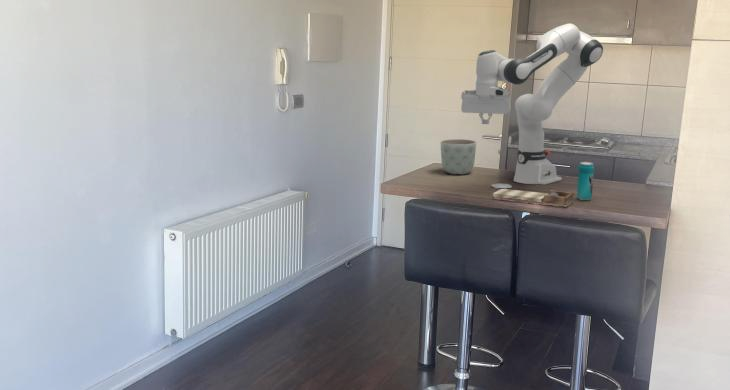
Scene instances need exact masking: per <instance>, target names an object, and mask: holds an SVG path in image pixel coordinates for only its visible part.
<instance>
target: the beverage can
mask: <svg viewBox="0 0 730 390" xmlns="http://www.w3.org/2000/svg"><path fill="white" fill-rule="evenodd" d="M594 170H595V166H594V162H589V161H581V162H579V166H578V177H577V194H576V196H577V198H578V200H579V199H582V200H581V201H583V200H588V201H590V200H591V199H592V197H593V185H594V172H595V171H594Z"/></svg>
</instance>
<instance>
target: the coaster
mask: <svg viewBox="0 0 730 390" xmlns="http://www.w3.org/2000/svg"><path fill="white" fill-rule="evenodd" d="M491 186H492V187H495V188H505V189H506V188H510V189H512V188H513V186H512V185H511V184H509V183H492V184H491V185H490V187H491ZM492 187H491V188H492Z"/></svg>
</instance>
